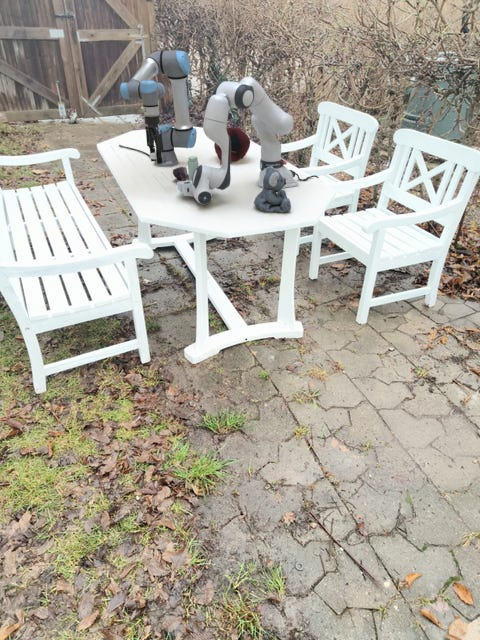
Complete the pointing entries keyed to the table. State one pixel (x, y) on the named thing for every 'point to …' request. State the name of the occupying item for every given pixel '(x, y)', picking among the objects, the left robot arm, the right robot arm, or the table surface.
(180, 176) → the rock
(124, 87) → the left robot arm
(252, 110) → the right robot arm
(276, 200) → the koala plush
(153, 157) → the lid
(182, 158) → the table surface
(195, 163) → the jar
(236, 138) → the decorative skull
